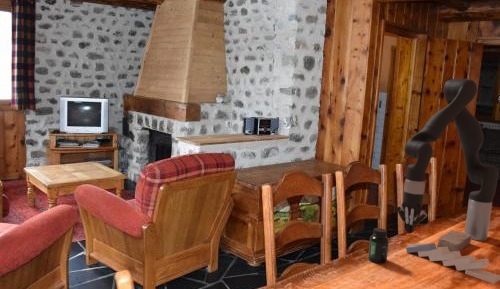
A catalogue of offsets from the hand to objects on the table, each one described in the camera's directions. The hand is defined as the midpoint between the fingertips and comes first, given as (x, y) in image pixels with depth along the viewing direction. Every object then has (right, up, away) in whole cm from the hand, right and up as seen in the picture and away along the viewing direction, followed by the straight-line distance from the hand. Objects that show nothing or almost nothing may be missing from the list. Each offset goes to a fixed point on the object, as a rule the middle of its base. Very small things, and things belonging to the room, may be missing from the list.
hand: (409, 232), depth 181 cm
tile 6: (+16, -11, -16) cm, 25 cm away
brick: (+22, -8, +9) cm, 25 cm away
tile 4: (+10, -9, -11) cm, 17 cm away
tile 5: (+13, -10, -14) cm, 22 cm away
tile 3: (+7, -8, -7) cm, 12 cm away
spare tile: (0, -7, +1) cm, 7 cm away
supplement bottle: (-16, -9, -10) cm, 20 cm away
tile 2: (+4, -7, -3) cm, 9 cm away
